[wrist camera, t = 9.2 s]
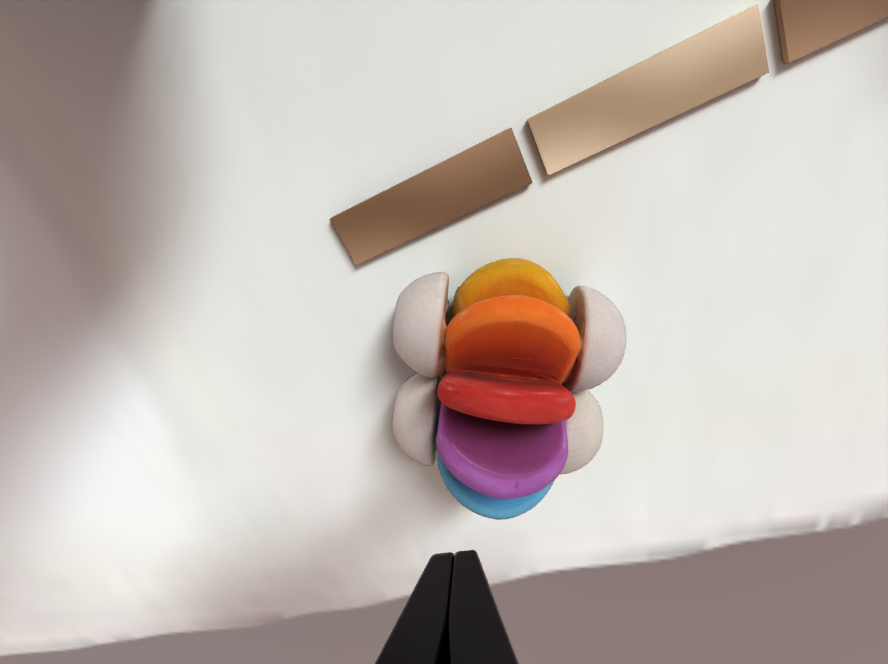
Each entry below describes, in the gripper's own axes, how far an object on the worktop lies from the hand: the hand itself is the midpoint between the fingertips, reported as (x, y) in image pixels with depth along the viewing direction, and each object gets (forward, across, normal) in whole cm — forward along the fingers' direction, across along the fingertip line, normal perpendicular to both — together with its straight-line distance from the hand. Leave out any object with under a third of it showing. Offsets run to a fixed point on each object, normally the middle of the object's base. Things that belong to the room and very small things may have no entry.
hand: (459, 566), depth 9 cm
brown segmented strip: (+12, -7, -6) cm, 15 cm away
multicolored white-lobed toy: (+12, -1, +2) cm, 13 cm away
